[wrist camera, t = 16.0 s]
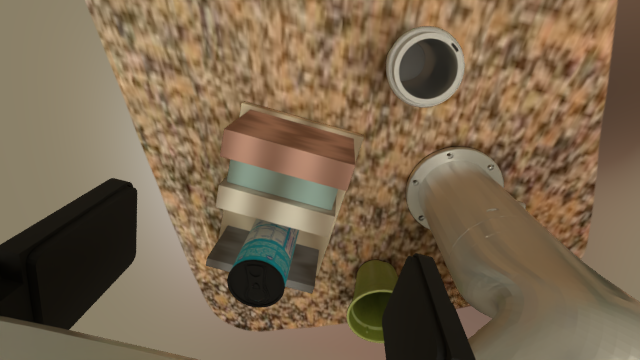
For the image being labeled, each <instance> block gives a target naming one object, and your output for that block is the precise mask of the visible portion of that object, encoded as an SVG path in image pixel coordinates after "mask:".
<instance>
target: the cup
mask: <svg viewBox="0 0 640 360" xmlns="http://www.w3.org/2000/svg"><path fill="white" fill-rule="evenodd" d="M464 67H465V62H464V55H463V52H462V49H461V47H460V45H459V44H458V42H457V41H456V39H455V38H454V37H453V36H452V35H451V34H449V33H448V32H446V31H445V30H443V29H440V28H437V27H433V26H422V27H417V28H414V29H412V30H410V31H408V32H406V33H405V34H403V35H402V36H401V37H400V38H399V39H398V40H397V41H396V42H395V43H394V45H393V47H392V48H391V49H390V51H389V52H388V55H387V58H386V74H387V79H388V82H389V85H390V87H391V89H392V91H393V92H394V93H395V95H396V96H397V97H398V98H399V99H401V100H402V101H403V102H405V103H407V104H409V105H412V106H415V107H432V106H436V105H438V104H440V103H443V102H444V101H446V100H447V99H449V98H450V97H451V96H452V95H453V94H454V93H455V91H456V90H457V89H458V87H459V85H460V84H461V81H462V78H463V74H464Z"/></svg>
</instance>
